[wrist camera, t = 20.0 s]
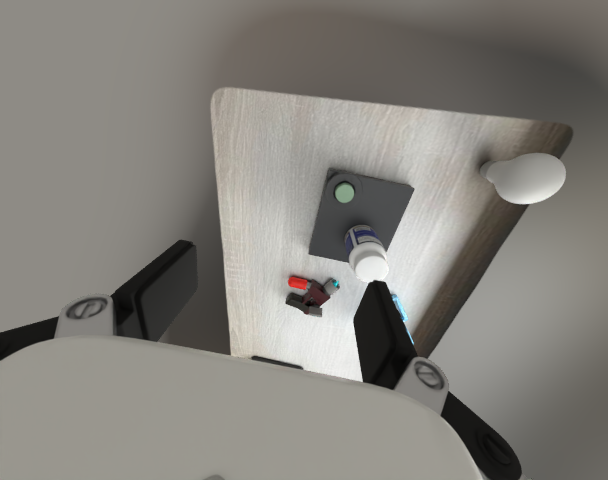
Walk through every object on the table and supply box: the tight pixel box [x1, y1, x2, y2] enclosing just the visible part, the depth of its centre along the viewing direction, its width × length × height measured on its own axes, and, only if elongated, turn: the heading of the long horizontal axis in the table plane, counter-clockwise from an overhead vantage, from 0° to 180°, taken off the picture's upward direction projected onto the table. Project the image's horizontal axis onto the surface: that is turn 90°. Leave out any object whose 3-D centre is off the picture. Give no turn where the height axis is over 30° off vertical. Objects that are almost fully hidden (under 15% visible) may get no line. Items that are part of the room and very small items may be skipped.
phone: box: [251, 357, 303, 370], centre depth 62 cm, size 7×1×15 cm
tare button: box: [335, 183, 354, 203], centre depth 34 cm, size 3×3×2 cm
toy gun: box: [286, 277, 340, 317], centre depth 45 cm, size 10×12×5 cm
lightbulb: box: [480, 153, 566, 204], centre depth 29 cm, size 6×6×11 cm
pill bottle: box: [345, 225, 389, 283], centre depth 35 cm, size 6×6×10 cm
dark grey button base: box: [308, 168, 414, 263], centre depth 38 cm, size 16×14×4 cm
